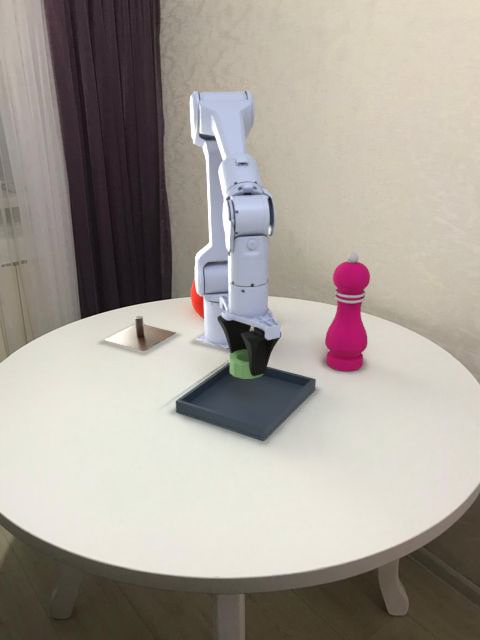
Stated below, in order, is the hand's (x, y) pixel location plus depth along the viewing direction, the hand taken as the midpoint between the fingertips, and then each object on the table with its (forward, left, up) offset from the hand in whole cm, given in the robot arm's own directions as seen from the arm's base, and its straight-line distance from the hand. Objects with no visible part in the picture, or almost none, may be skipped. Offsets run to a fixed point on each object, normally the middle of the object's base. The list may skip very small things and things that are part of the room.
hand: (248, 366), depth 90 cm
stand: (-10, -30, -6) cm, 32 cm away
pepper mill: (-20, +8, -6) cm, 22 cm away
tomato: (-28, -24, -6) cm, 37 cm away
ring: (0, 0, -1) cm, 1 cm away
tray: (0, 0, -6) cm, 6 cm away
